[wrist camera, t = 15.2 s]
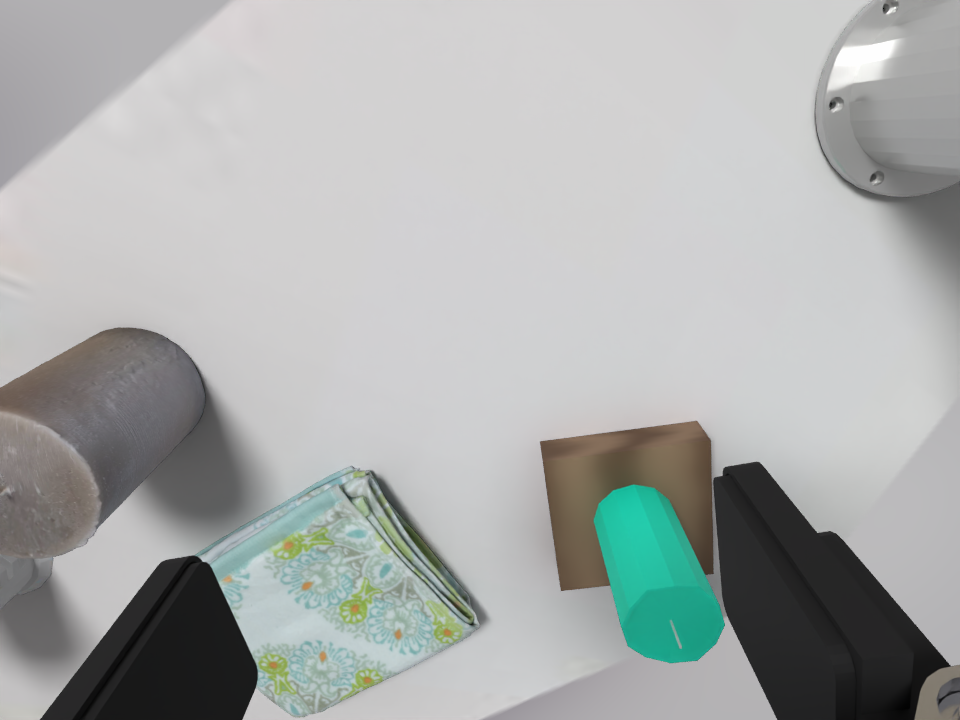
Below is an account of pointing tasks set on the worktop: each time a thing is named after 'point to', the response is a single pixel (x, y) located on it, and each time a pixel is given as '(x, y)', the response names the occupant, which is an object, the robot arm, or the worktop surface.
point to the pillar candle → (89, 436)
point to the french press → (22, 576)
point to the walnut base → (620, 463)
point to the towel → (336, 593)
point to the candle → (656, 577)
